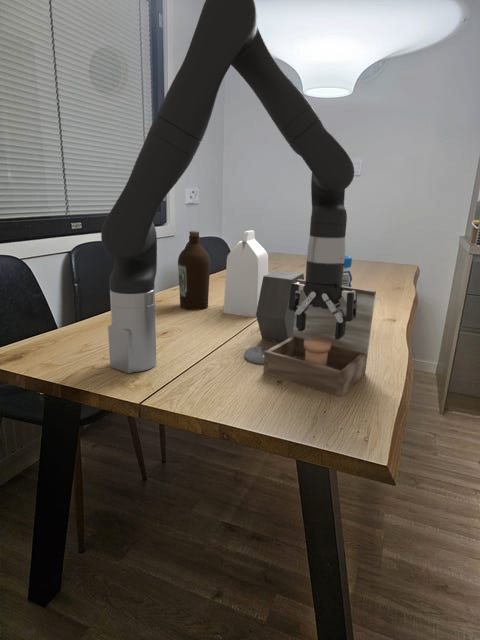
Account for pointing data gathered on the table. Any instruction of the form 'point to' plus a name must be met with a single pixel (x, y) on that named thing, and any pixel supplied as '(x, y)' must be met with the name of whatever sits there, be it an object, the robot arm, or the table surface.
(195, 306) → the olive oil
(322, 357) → the round cabinet knob
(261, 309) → the planter
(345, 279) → the beverage bottle
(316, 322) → the hinged wooden box
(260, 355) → the saucer
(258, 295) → the milk
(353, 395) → the table surface
